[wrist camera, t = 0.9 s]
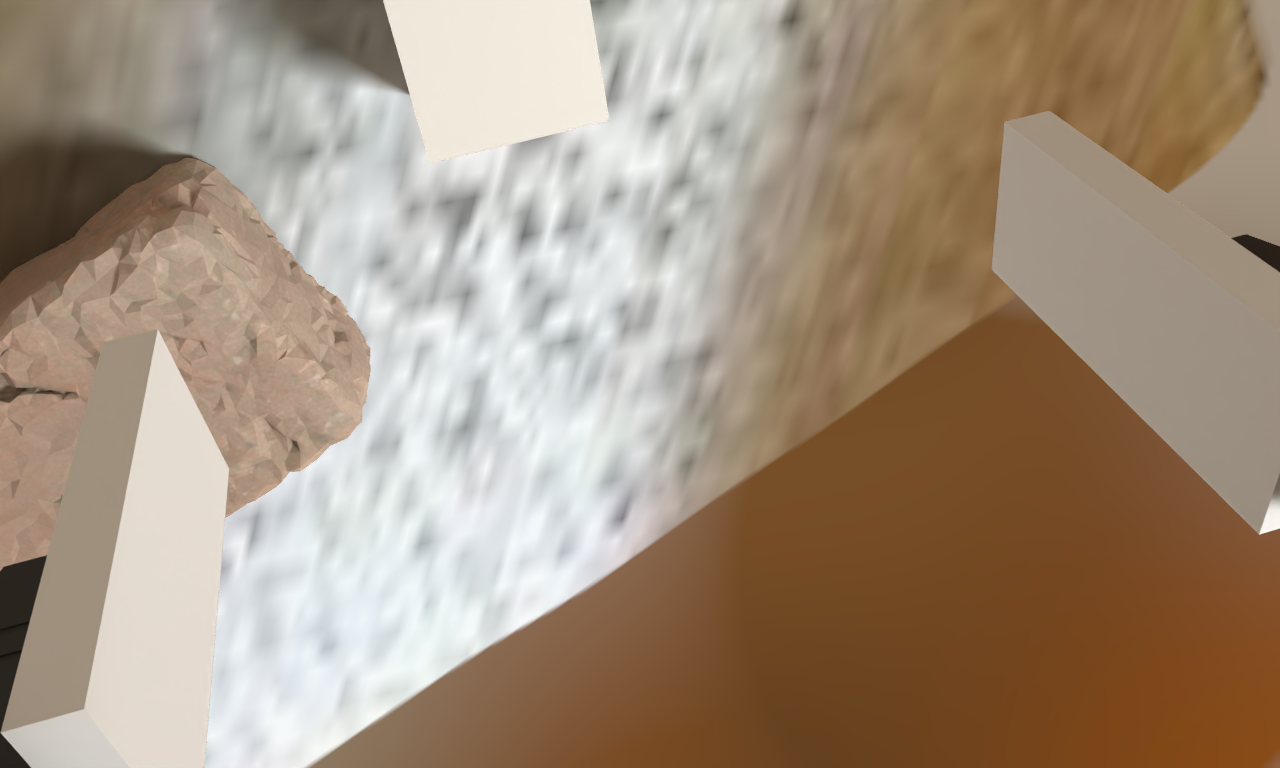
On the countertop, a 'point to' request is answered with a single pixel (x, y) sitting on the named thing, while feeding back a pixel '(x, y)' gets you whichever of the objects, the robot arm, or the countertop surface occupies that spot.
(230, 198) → the brick
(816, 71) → the countertop surface
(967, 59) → the countertop surface
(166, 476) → the robot arm
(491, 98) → the beige cube
